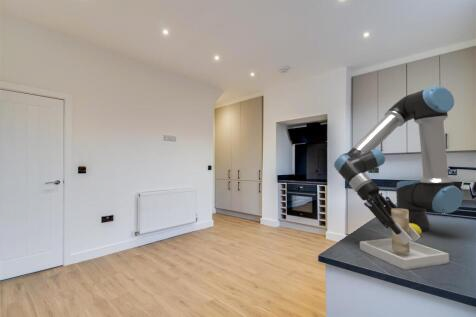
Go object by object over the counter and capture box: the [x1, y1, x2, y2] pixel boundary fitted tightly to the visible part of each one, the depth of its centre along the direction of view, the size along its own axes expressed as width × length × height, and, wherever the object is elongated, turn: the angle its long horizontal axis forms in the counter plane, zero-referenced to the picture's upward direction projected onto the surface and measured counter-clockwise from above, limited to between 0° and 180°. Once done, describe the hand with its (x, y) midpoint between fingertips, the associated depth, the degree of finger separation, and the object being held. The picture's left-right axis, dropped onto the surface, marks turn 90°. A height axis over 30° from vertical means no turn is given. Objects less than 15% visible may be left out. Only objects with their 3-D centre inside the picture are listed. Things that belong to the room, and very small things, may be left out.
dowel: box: [390, 208, 410, 253], centre depth 84 cm, size 5×5×14 cm
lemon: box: [409, 223, 423, 235], centre depth 107 cm, size 7×5×5 cm
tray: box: [359, 237, 450, 271], centre depth 84 cm, size 18×18×3 cm
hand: (412, 240), depth 81 cm, fingers closed on dowel, 5 cm apart
